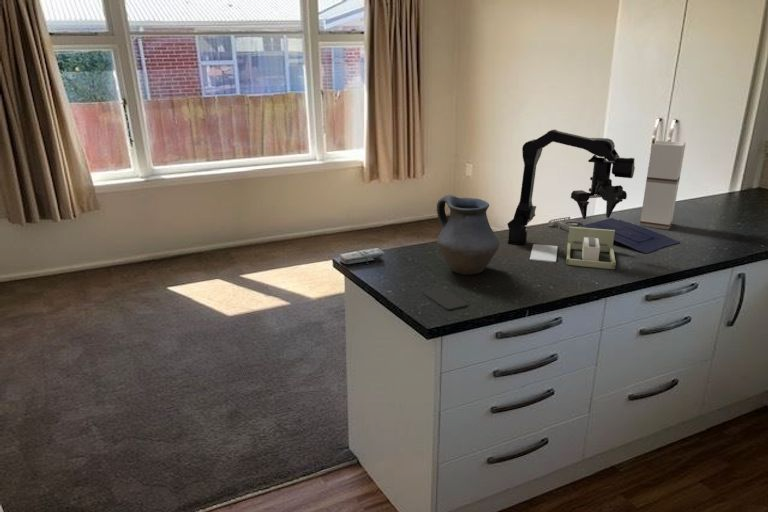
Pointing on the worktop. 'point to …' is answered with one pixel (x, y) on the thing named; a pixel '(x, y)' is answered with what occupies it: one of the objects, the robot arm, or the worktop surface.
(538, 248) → the mat
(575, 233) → the equipment case
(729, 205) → the worktop surface
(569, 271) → the worktop surface
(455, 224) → the pitcher
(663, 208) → the tall banded white pillar
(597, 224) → the navy flat panel
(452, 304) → the phone
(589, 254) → the module
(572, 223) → the graphics card
